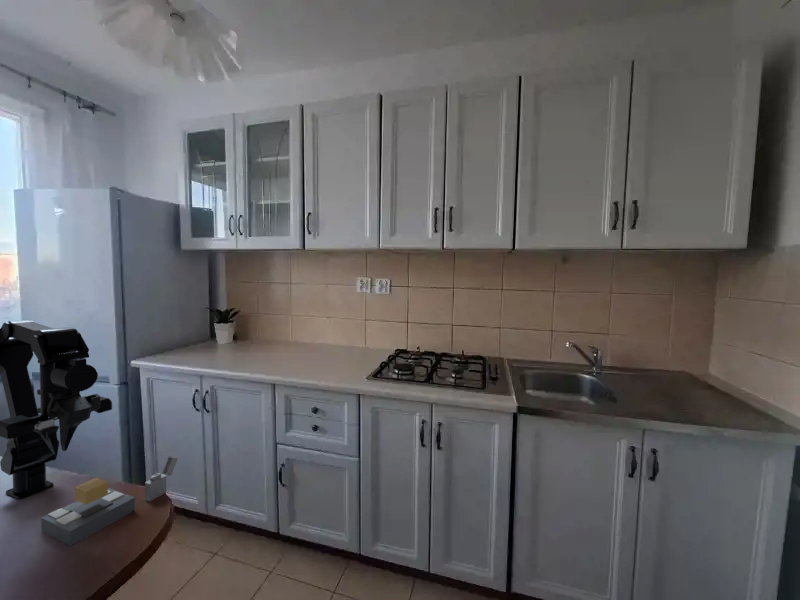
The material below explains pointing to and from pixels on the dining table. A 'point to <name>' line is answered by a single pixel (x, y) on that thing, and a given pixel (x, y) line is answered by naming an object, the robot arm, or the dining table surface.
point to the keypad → (86, 517)
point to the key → (91, 490)
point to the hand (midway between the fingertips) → (59, 452)
